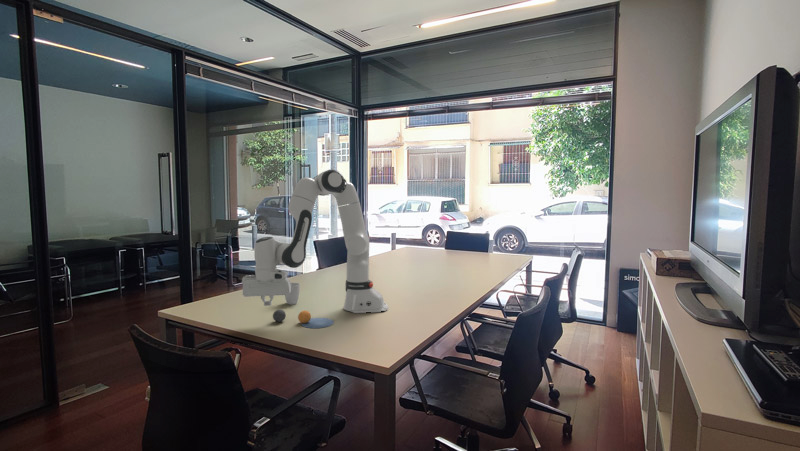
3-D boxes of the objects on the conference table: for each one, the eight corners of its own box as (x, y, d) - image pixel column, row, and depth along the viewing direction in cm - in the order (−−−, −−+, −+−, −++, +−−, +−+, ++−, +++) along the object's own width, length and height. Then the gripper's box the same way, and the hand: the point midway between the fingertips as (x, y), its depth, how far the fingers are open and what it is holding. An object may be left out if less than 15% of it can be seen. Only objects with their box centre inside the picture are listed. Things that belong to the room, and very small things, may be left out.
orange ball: (297, 315, 177) (306, 323, 177) (294, 319, 171) (304, 327, 172) (304, 306, 176) (314, 314, 177) (302, 310, 171) (312, 317, 171)
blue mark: (335, 318, 181) (335, 317, 181) (330, 328, 167) (330, 328, 167) (305, 318, 181) (305, 317, 181) (298, 328, 167) (297, 327, 167)
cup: (303, 302, 208) (302, 283, 208) (294, 306, 201) (294, 286, 200) (289, 300, 211) (289, 282, 210) (280, 304, 203) (280, 285, 203)
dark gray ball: (272, 311, 178) (275, 323, 177) (270, 311, 172) (273, 324, 172) (284, 307, 179) (288, 319, 178) (282, 307, 174) (286, 319, 173)
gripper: (239, 276, 168) (241, 308, 169) (288, 274, 169) (289, 306, 170) (244, 273, 174) (245, 304, 175) (291, 272, 176) (292, 302, 177)
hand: (267, 305), depth 173 cm, fingers closed
